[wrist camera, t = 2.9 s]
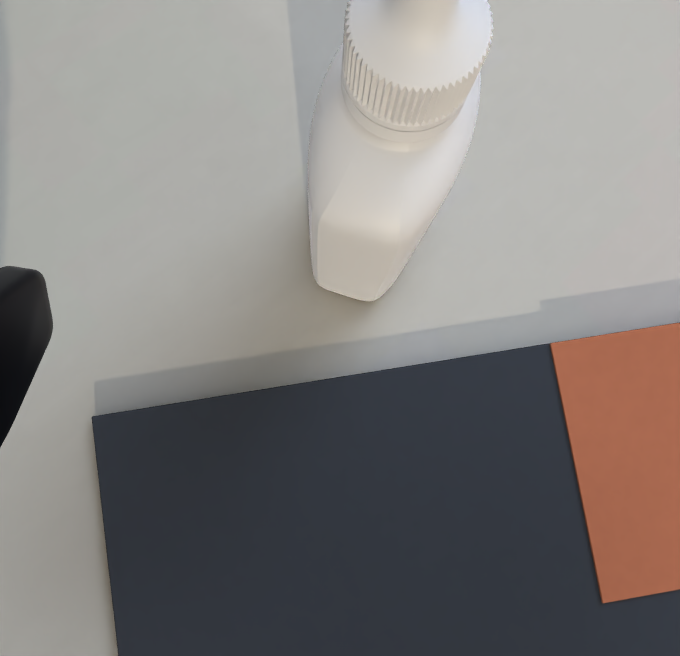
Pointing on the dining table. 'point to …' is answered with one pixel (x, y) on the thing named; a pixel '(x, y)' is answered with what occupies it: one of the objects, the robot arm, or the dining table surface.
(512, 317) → the dining table surface
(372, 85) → the eye dropper bottle
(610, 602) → the desk mat
